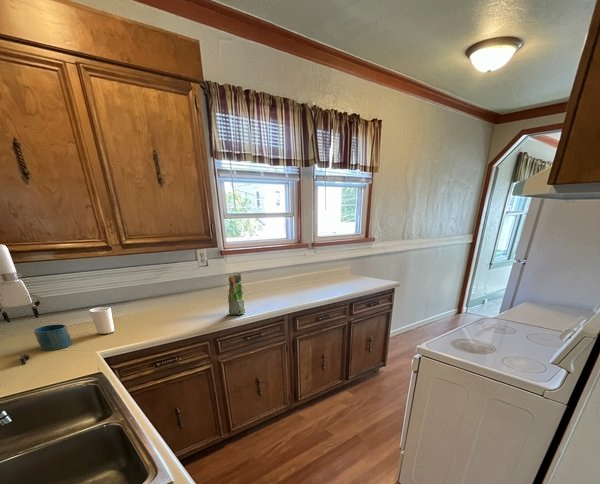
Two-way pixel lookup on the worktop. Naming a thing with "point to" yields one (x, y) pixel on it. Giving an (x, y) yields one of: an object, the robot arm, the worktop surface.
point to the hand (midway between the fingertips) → (23, 319)
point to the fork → (24, 358)
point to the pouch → (235, 295)
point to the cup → (102, 320)
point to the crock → (53, 337)
